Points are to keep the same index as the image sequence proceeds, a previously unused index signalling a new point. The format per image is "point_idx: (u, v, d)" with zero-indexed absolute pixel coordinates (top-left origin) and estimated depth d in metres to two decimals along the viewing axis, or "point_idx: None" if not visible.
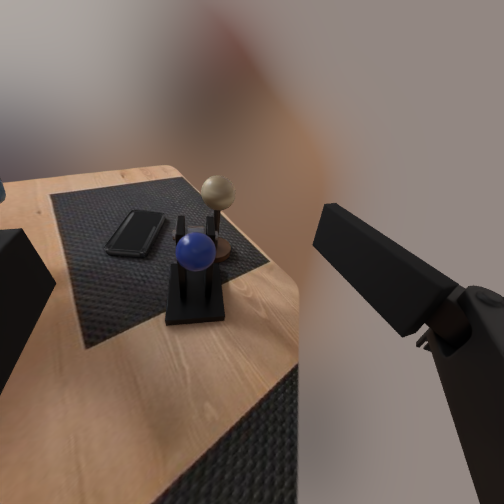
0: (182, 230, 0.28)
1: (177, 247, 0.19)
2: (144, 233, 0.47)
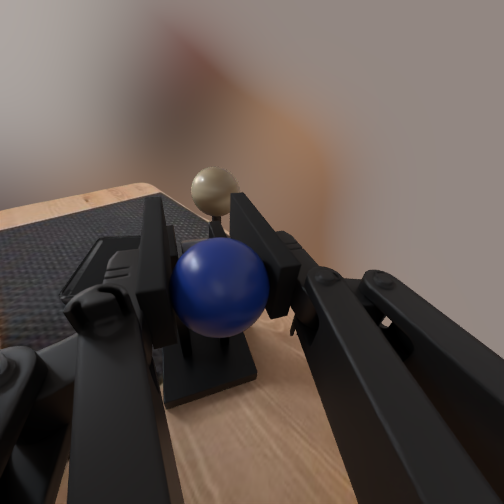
0: (173, 248, 0.16)
1: (173, 283, 0.07)
2: None
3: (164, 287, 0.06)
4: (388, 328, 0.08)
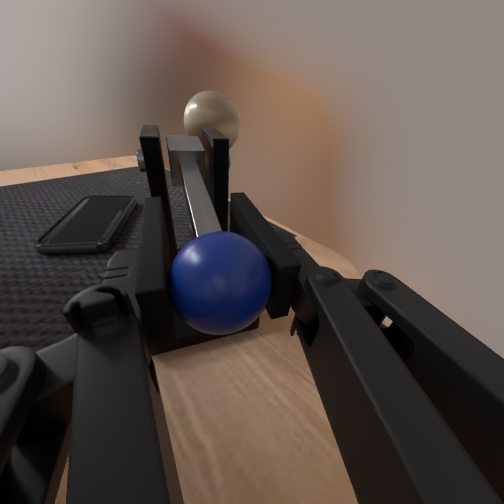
0: (155, 133, 0.13)
1: (174, 294, 0.07)
2: (104, 220, 0.30)
3: (164, 287, 0.06)
4: (388, 328, 0.08)
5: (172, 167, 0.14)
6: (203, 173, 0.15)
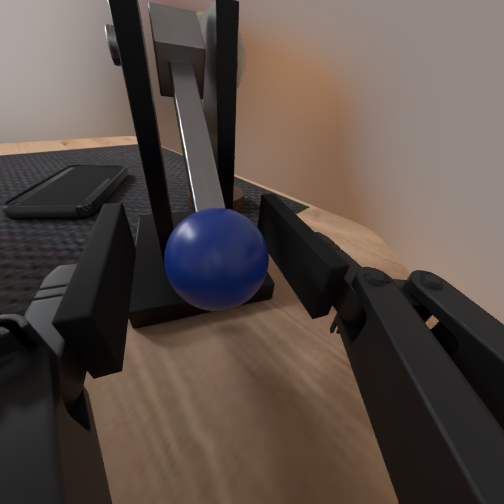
0: None
1: (172, 279, 0.07)
2: (89, 186, 0.26)
3: (90, 314, 0.05)
4: (432, 330, 0.08)
5: (159, 69, 0.10)
6: (201, 83, 0.11)
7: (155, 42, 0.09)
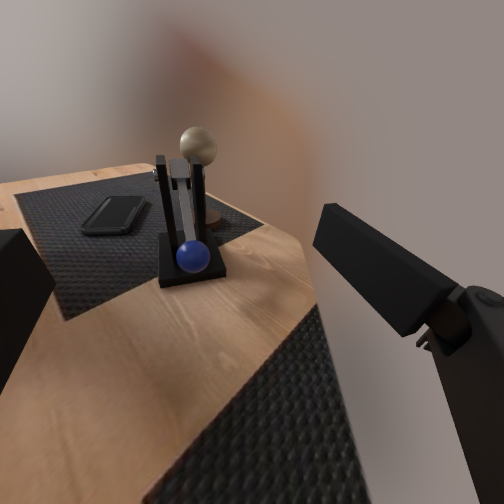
0: (163, 162, 0.25)
1: (178, 262, 0.23)
2: (124, 213, 0.43)
3: None
4: None
5: (173, 183, 0.26)
6: (189, 185, 0.27)
7: (171, 178, 0.25)
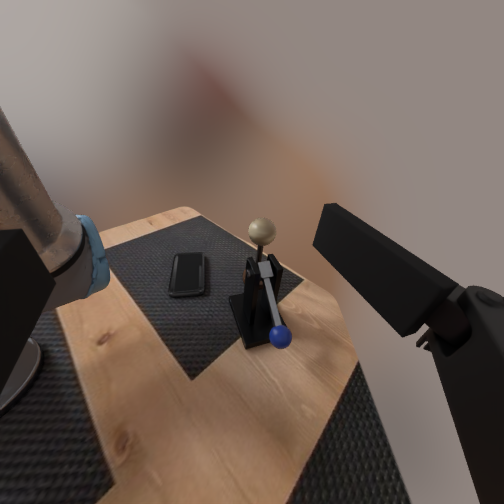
0: (258, 269, 0.35)
1: (273, 343, 0.34)
2: (194, 273, 0.53)
3: None
4: None
5: (260, 279, 0.37)
6: (269, 278, 0.38)
7: (261, 278, 0.36)
